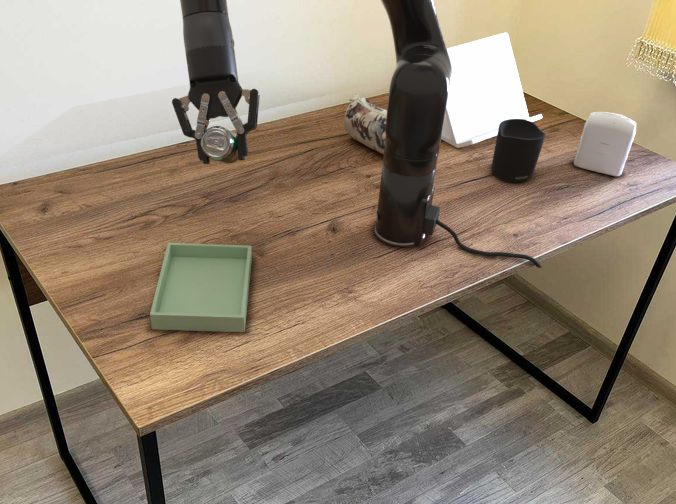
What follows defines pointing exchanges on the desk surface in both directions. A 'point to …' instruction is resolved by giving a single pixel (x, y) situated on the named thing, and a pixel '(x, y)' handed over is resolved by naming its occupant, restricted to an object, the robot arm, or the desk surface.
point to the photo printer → (605, 143)
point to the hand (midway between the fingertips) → (224, 161)
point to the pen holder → (517, 150)
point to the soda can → (220, 144)
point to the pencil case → (366, 123)
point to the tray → (202, 288)
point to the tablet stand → (482, 91)
